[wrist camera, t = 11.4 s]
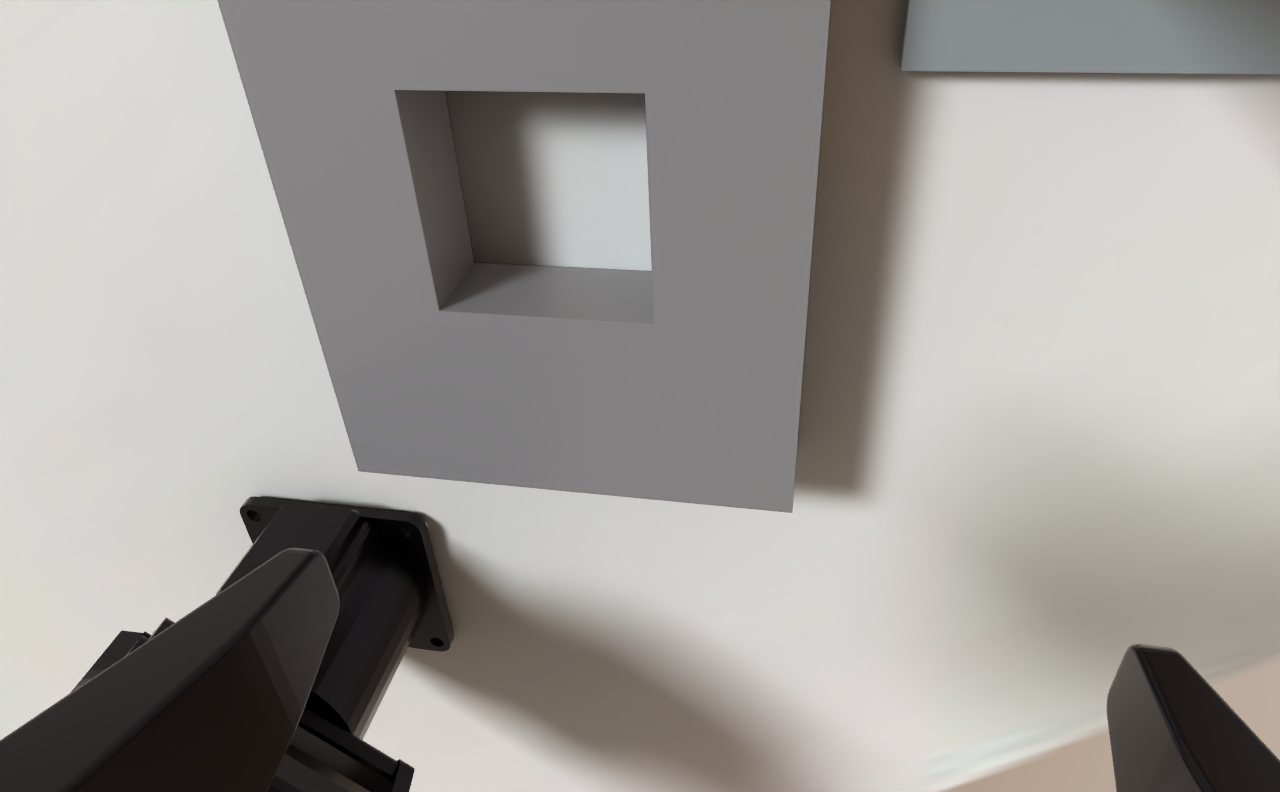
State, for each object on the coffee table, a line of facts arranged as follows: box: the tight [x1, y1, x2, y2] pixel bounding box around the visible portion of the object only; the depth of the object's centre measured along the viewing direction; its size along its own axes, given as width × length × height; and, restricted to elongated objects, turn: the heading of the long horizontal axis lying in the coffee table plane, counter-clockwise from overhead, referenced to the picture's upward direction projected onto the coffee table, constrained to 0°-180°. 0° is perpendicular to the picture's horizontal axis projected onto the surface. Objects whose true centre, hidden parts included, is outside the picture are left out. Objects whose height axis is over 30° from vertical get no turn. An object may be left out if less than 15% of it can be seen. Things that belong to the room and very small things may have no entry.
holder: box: [218, 0, 831, 513], centre depth 20 cm, size 16×12×2 cm
